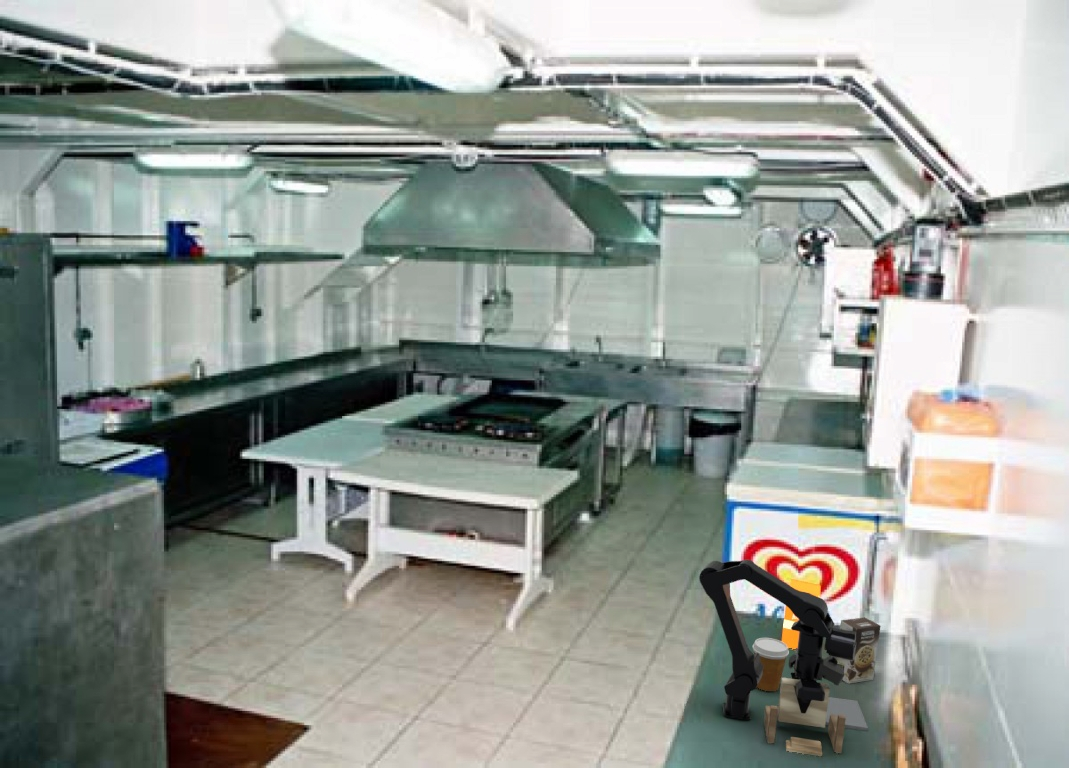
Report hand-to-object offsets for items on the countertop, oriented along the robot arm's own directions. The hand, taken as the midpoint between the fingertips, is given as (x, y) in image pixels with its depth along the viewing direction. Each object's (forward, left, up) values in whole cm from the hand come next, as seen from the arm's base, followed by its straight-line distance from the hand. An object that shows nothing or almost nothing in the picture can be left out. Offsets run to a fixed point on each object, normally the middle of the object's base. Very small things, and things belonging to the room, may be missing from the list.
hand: (802, 709), depth 227 cm
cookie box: (-35, +19, -6) cm, 40 cm away
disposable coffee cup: (-22, -6, -6) cm, 23 cm away
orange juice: (-52, +6, -6) cm, 52 cm away
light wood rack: (+3, 0, -6) cm, 7 cm away
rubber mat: (-12, +9, -6) cm, 16 cm away
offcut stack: (+9, 0, -6) cm, 11 cm away
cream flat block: (0, 0, -3) cm, 3 cm away
